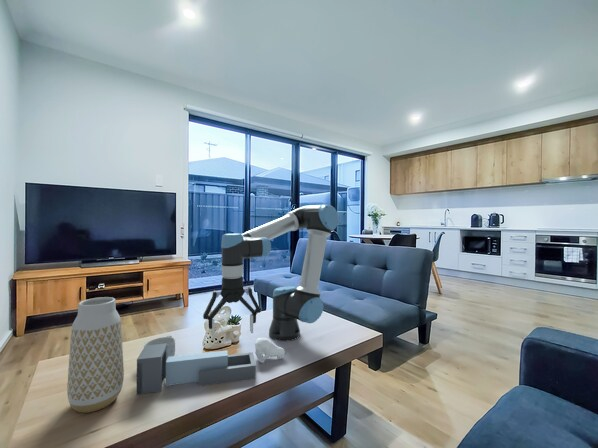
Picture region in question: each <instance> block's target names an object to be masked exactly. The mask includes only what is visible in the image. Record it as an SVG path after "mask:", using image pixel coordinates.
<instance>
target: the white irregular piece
mask: <svg viewBox="0 0 598 448" xmlns="http://www.w3.org/2000/svg"><path fill="white" fill-rule="evenodd" d="M254 345H255V346H254V347H255V356H256V358H257V360H258V362H259V363H261V364H263V363H264V360H267V359H269V358H272V357H276V359H277V360H280V359H282V358H283V356H285V350H284V348H283V347H280V346H277V345H276V344H275V343H274V342H273V341H272V340H270V339H269V338H267V337H259V338H257V339H256V340H255V342H254Z"/></svg>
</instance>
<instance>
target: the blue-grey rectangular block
mask: <svg viewBox="0 0 598 448" xmlns="http://www.w3.org/2000/svg"><path fill="white" fill-rule="evenodd" d="M228 353H229V352H228V350H226V349H225V350H219V351H218V350H217V351H208V352H199V353H191V354H181V355H180V354H179V355H174V356H170V357H168V358H167V361H166V377H165V386H173V385H181V384H188V383H193V382H194V383H195V382H196V383H197V382H199V370H205V369H213V368H221V367H228V355H229V354H228Z"/></svg>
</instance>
